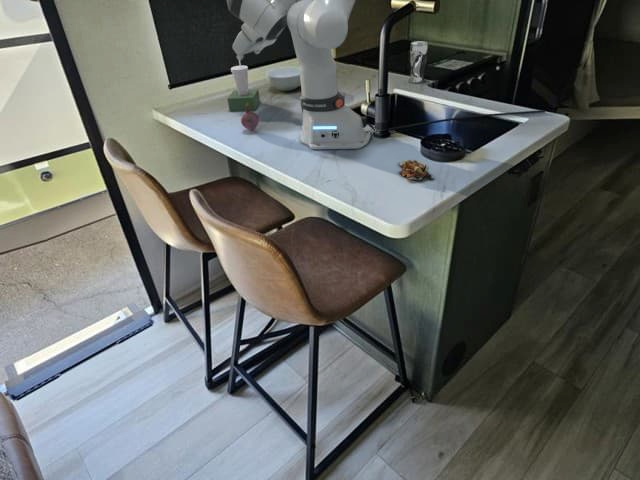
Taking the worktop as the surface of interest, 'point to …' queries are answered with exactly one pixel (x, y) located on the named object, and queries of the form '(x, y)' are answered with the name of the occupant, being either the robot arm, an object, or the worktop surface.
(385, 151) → the worktop surface
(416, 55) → the beer glass
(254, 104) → the green block
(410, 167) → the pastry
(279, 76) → the cereal bowl
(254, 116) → the vegetable
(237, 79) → the smoothie
